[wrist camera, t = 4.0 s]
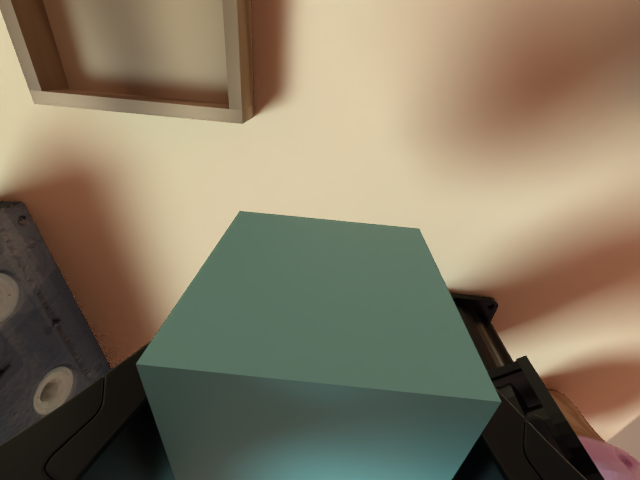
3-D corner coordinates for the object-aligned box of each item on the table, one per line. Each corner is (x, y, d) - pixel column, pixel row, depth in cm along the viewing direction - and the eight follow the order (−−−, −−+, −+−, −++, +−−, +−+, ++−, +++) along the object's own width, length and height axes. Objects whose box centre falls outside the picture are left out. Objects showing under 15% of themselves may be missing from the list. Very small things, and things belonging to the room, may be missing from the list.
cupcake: (537, 435, 30) (616, 586, 21) (456, 416, 29) (504, 564, 21) (604, 381, 26) (738, 543, 17) (510, 357, 25) (601, 513, 16)
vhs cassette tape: (-12, 197, 20) (-269, 294, 12) (31, 199, 20) (-198, 299, 12) (87, 374, 30) (-18, 502, 21) (116, 376, 29) (24, 505, 21)
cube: (419, 228, 8) (500, 401, 4) (385, 351, 11) (414, 537, 7) (239, 210, 8) (135, 364, 4) (246, 337, 11) (186, 512, 7)
